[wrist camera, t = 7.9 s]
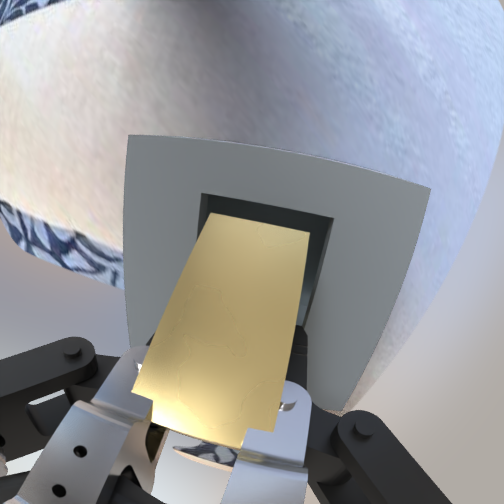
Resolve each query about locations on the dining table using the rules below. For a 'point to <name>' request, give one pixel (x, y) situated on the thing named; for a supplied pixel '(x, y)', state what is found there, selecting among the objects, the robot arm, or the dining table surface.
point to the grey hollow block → (284, 215)
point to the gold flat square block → (227, 332)
